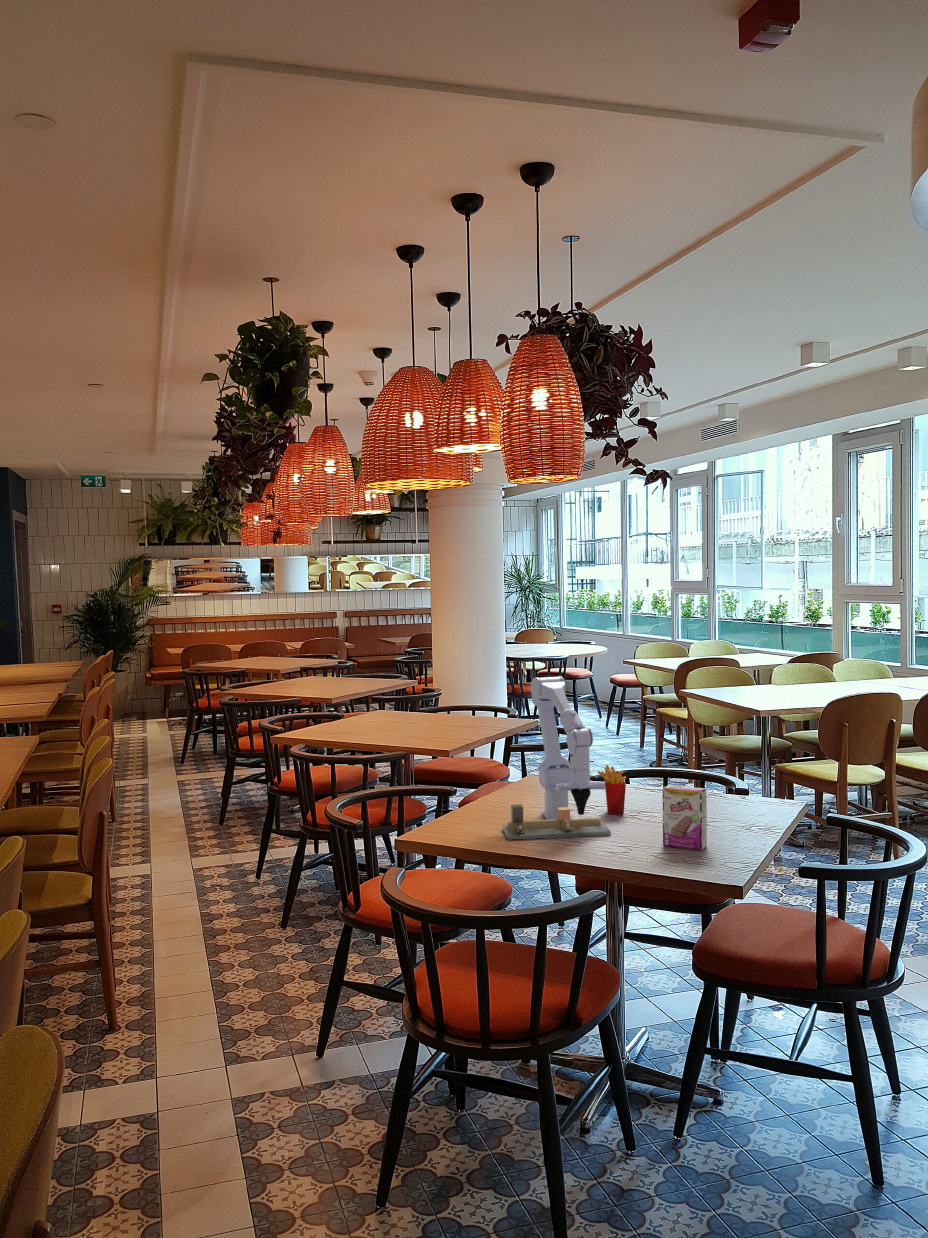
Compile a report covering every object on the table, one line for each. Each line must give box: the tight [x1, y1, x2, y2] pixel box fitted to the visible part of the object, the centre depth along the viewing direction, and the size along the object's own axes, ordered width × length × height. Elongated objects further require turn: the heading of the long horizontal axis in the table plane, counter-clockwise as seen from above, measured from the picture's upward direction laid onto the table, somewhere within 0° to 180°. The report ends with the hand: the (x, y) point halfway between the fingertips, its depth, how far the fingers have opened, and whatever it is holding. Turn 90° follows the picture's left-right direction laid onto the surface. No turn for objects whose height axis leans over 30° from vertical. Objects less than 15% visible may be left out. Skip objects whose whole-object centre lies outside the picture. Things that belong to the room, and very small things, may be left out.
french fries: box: [596, 764, 627, 816], centre depth 301 cm, size 9×8×15 cm
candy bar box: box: [662, 784, 708, 851], centre depth 262 cm, size 11×5×16 cm, turn 59°
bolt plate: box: [502, 804, 612, 841], centre depth 280 cm, size 12×30×8 cm, turn 95°
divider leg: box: [557, 806, 571, 830], centre depth 281 cm, size 8×3×5 cm, turn 5°
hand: (580, 814), depth 283 cm, fingers closed
